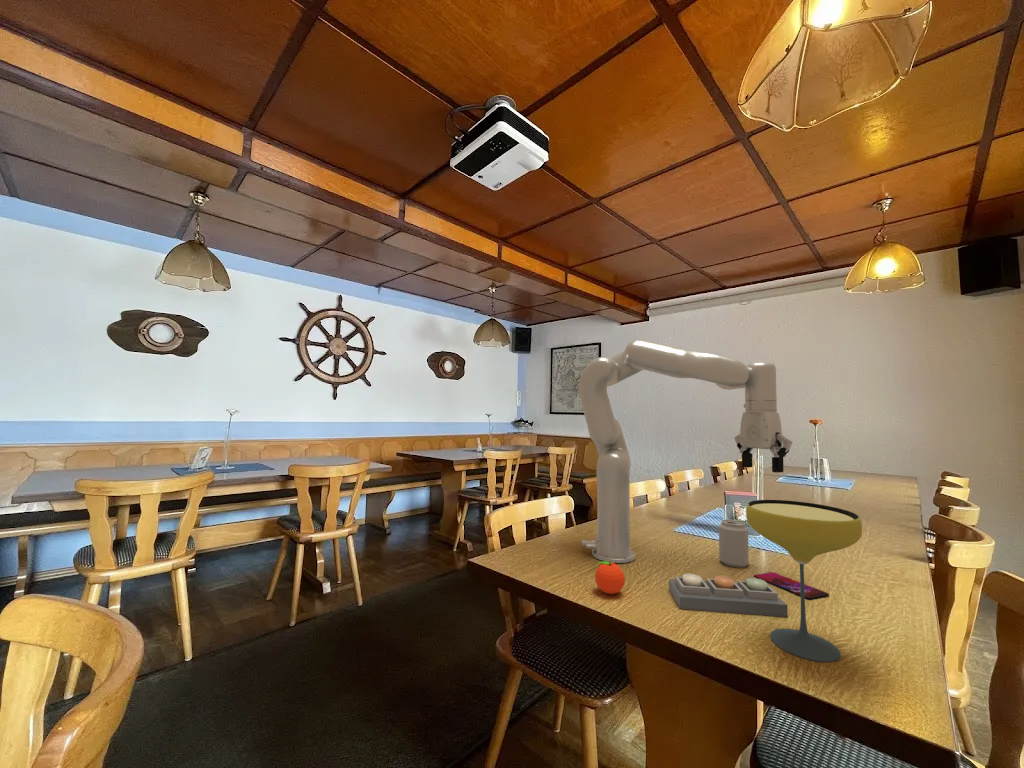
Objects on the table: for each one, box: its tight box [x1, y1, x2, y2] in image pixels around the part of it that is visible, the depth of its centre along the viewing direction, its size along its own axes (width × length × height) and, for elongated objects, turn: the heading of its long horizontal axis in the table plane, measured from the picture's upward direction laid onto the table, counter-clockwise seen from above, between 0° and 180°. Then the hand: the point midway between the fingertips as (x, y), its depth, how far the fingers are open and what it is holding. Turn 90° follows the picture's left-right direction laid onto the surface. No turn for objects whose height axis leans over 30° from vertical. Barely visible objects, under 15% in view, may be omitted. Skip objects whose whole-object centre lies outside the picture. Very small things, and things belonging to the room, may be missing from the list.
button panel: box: [668, 575, 789, 618], centre depth 95 cm, size 22×10×4 cm, turn 82°
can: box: [718, 519, 750, 568], centre depth 121 cm, size 8×8×12 cm
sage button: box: [746, 577, 768, 592], centre depth 95 cm, size 4×4×2 cm
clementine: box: [593, 561, 626, 595], centre depth 100 cm, size 8×7×7 cm
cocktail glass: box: [745, 499, 863, 663], centre depth 79 cm, size 18×18×25 cm
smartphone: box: [753, 571, 830, 601], centre depth 105 cm, size 8×1×15 cm
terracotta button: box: [713, 575, 735, 589], centre depth 96 cm, size 4×4×2 cm
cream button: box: [682, 573, 702, 587], centre depth 97 cm, size 4×4×2 cm
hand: (761, 469), depth 115 cm, fingers open, 9 cm apart
